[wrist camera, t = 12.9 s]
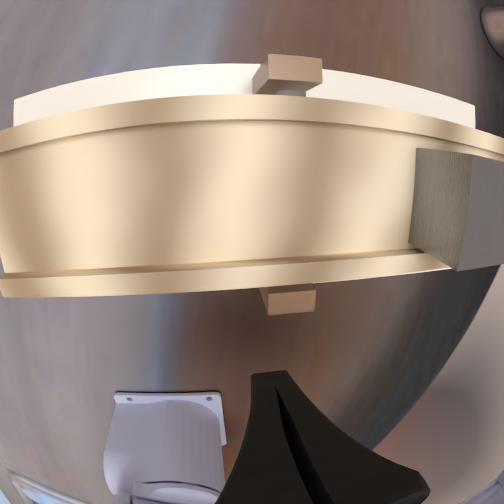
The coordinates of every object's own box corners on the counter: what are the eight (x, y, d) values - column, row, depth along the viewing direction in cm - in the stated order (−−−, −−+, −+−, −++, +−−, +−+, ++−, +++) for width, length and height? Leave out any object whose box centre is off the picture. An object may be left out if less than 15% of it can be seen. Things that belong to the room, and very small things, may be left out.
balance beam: (27, 284, 14) (5, 305, 12) (5, 128, 11) (-24, 128, 9) (474, 253, 18) (499, 266, 16) (487, 132, 15) (515, 135, 13)
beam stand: (44, 289, 19) (6, 331, 13) (21, 100, 14) (-31, 94, 9) (453, 263, 23) (497, 291, 18) (466, 106, 18) (519, 106, 13)
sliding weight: (407, 242, 15) (457, 271, 11) (415, 147, 13) (472, 154, 9) (466, 239, 15) (512, 262, 12) (475, 158, 14) (526, 168, 10)
